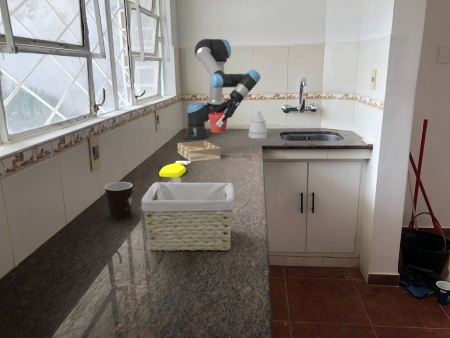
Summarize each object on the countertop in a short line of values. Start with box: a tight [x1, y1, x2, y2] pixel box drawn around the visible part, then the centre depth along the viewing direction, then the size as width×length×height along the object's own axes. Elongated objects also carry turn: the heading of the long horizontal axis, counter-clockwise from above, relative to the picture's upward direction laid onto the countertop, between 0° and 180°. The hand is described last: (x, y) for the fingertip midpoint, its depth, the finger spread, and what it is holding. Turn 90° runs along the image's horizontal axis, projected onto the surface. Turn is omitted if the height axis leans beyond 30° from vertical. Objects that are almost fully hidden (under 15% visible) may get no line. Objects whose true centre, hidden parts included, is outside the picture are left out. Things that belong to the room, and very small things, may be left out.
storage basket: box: [141, 181, 236, 252], centre depth 101 cm, size 24×16×15 cm
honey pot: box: [248, 110, 268, 139], centre depth 253 cm, size 13×13×18 cm
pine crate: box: [177, 140, 222, 162], centre depth 201 cm, size 22×17×6 cm
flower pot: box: [209, 113, 228, 134], centre depth 201 cm, size 11×11×10 cm
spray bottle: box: [158, 160, 192, 178], centre depth 173 cm, size 3×11×24 cm
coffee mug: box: [104, 181, 134, 220], centre depth 120 cm, size 12×9×10 cm
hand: (213, 124), depth 200 cm, fingers closed on flower pot, 11 cm apart
